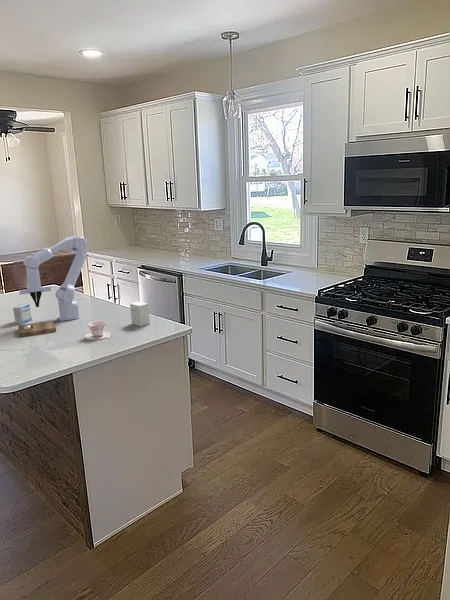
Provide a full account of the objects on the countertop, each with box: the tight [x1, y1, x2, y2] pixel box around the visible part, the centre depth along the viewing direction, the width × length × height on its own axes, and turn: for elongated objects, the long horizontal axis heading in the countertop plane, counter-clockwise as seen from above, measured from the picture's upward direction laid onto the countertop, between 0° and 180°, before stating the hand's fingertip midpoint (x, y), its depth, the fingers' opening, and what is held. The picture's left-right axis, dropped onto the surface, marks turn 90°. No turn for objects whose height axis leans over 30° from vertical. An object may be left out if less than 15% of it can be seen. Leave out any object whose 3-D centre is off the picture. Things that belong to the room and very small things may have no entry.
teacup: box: [84, 320, 112, 341], centre depth 213 cm, size 12×12×6 cm
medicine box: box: [12, 303, 32, 325], centre depth 239 cm, size 8×4×9 cm, turn 168°
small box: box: [129, 301, 151, 327], centre depth 229 cm, size 8×6×10 cm
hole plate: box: [17, 320, 57, 338], centre depth 224 cm, size 16×14×2 cm
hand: (37, 306), depth 232 cm, fingers closed
